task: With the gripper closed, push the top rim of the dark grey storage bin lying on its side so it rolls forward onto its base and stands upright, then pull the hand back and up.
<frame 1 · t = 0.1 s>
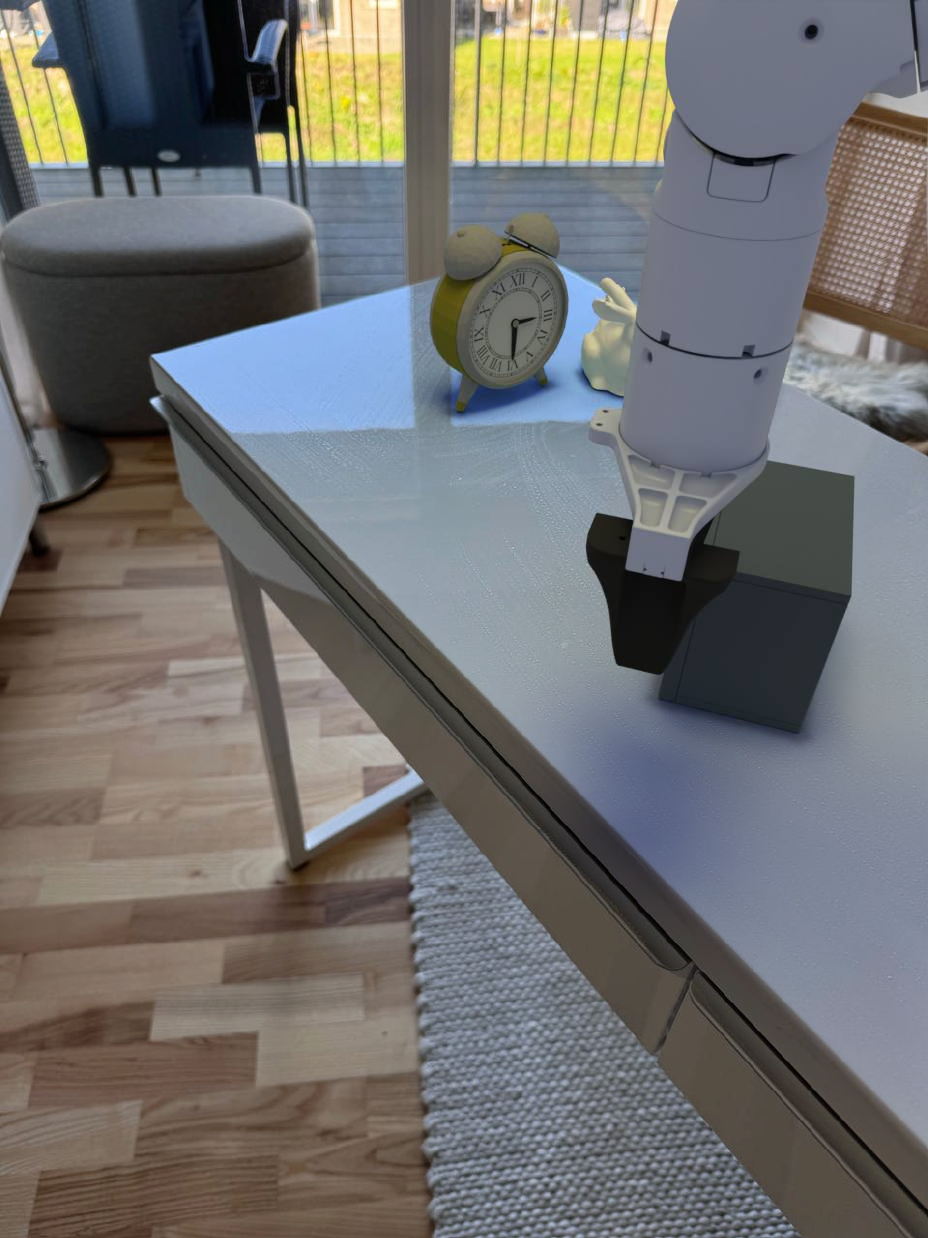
hand: (654, 611, 42), 11 cm above the table, tool pointing down, fingers open, 7 cm apart
alarm clock: (490, 392, 83), on the table
dark grey storage bin: (738, 649, 57), on the table
rabbit figurine: (610, 387, 84), on the table
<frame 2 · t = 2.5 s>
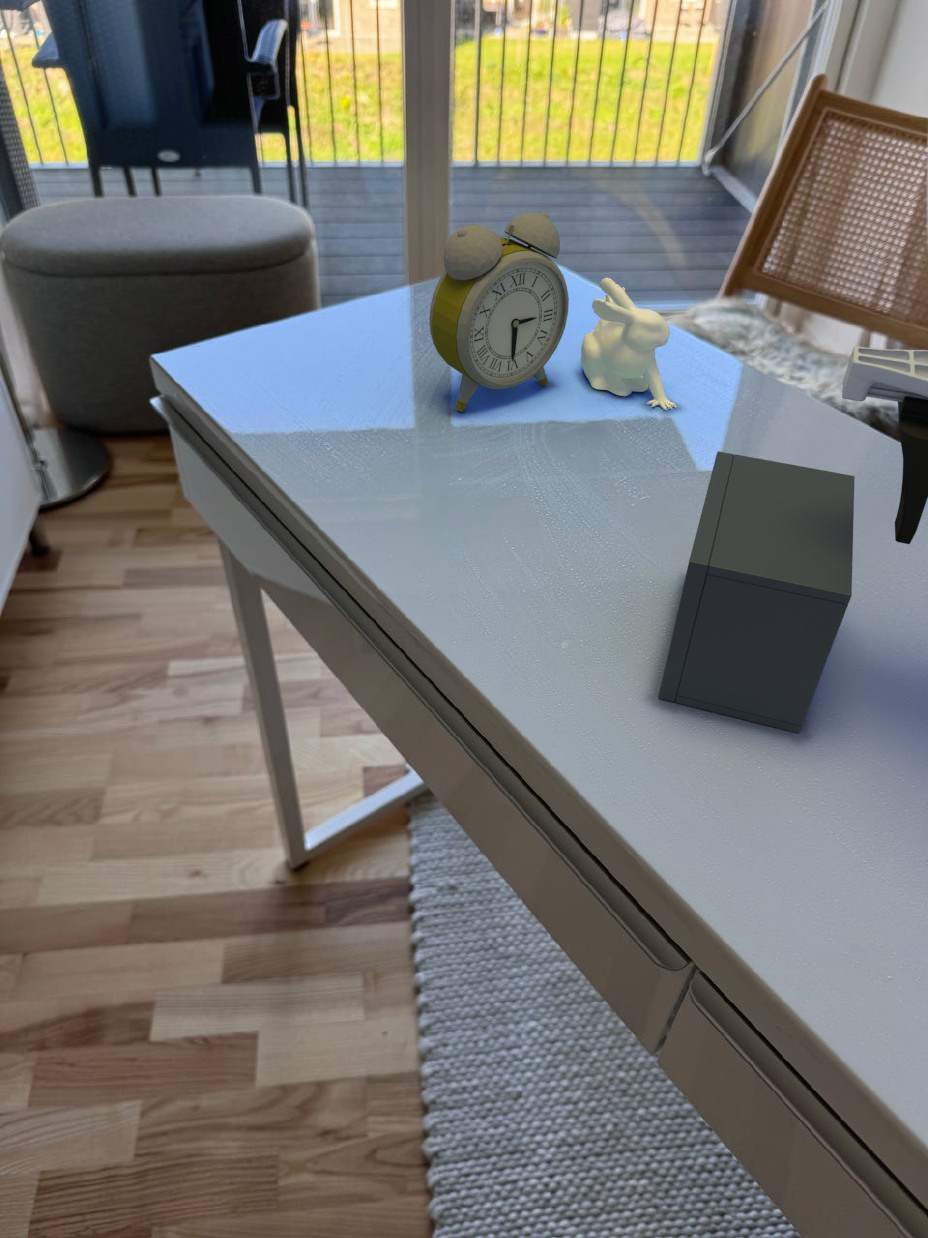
nothing on the table moved.
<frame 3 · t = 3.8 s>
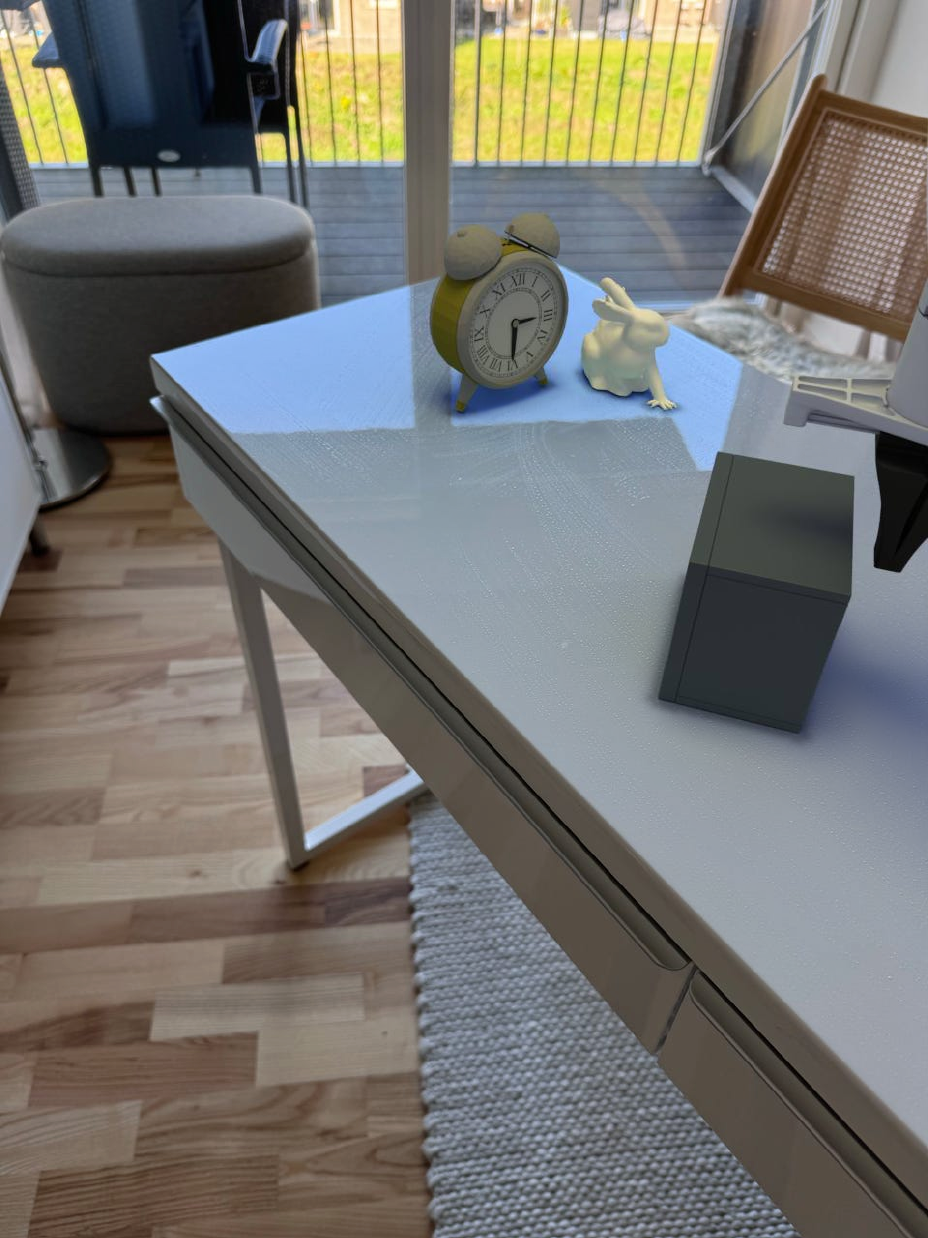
hand: (886, 560, 50), 9 cm above the table, tool pointing down, fingers closed
nothing on the table moved.
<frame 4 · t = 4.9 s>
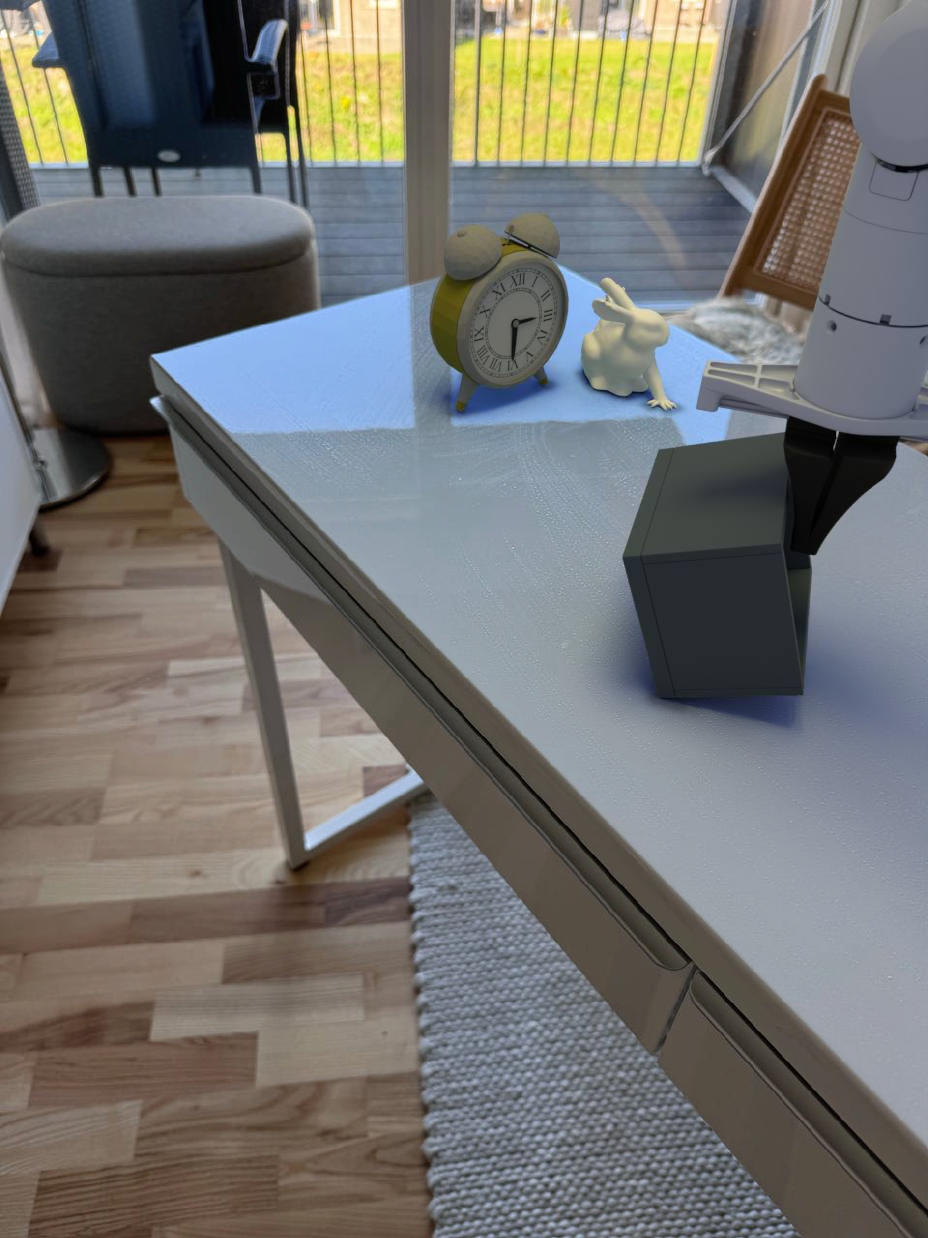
hand: (803, 543, 51), 9 cm above the table, tool pointing down, fingers closed
dark grey storage bin: (739, 631, 56), point 1 cm above the table, tilted 20°, touching gripper
everything else where it was.
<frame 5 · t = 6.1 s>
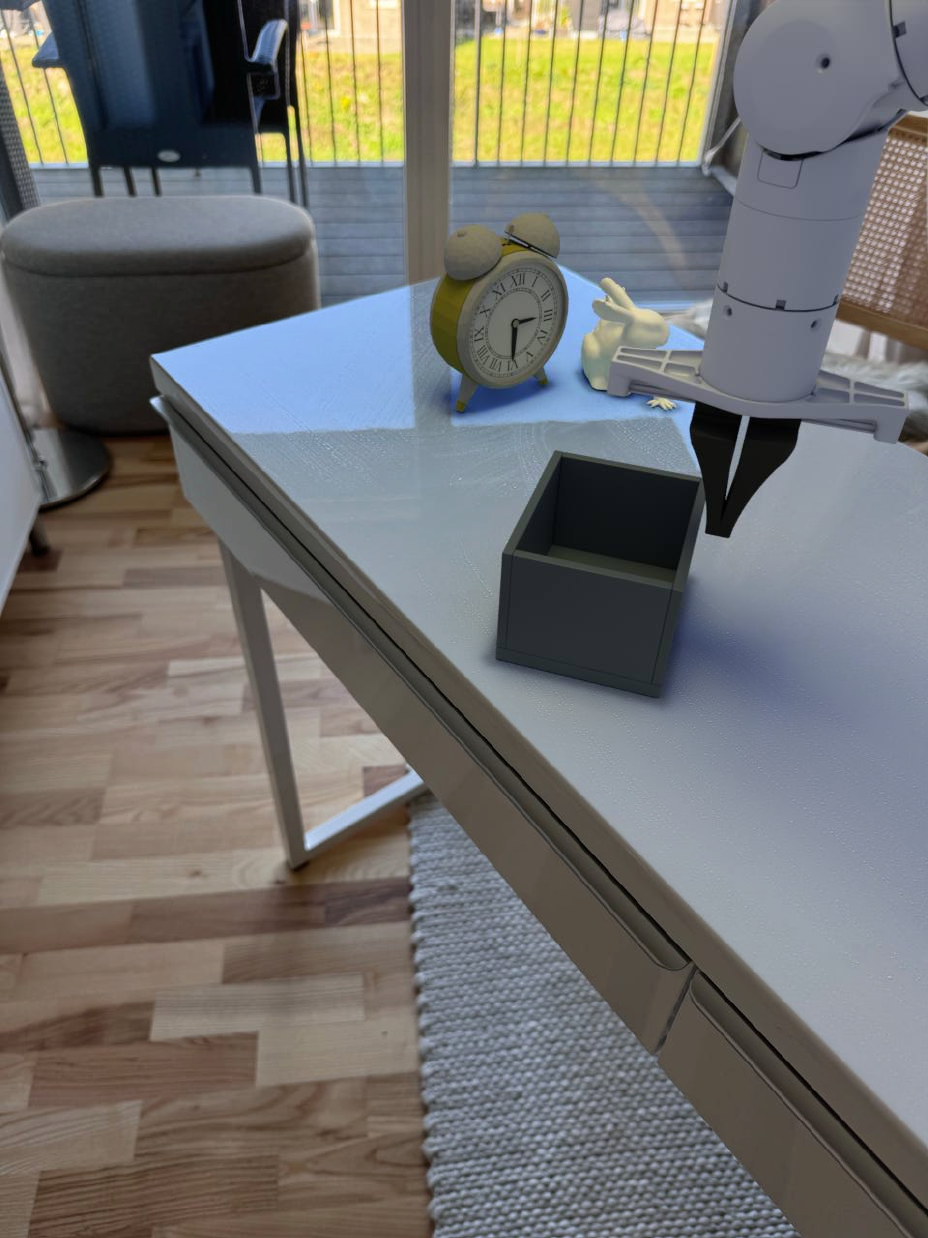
hand: (719, 526, 52), 9 cm above the table, tool pointing down, fingers closed
dark grey storage bin: (685, 585, 55), point 4 cm above the table, tilted 90°
everything else where it was.
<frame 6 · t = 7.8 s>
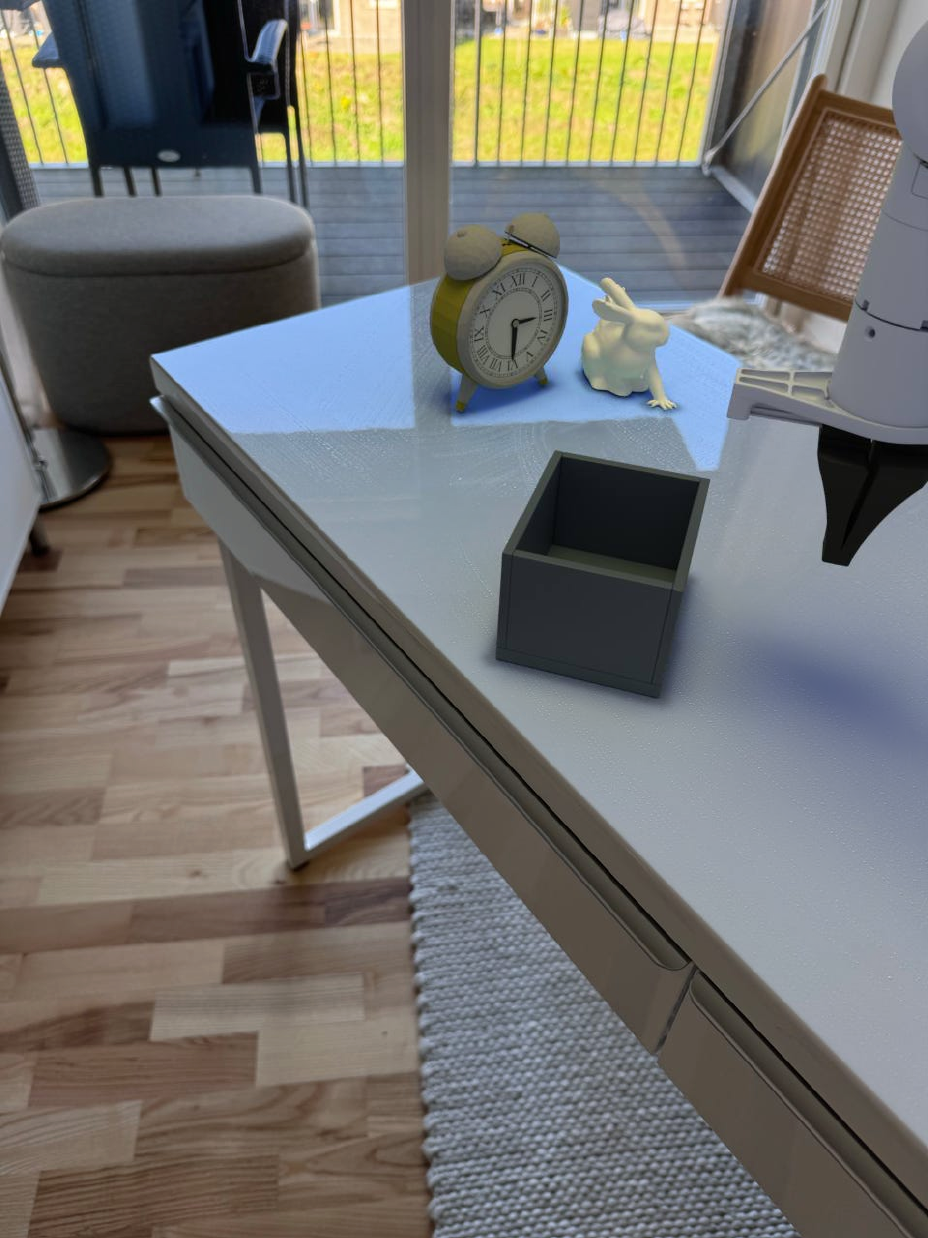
hand: (835, 554, 50), 9 cm above the table, tool pointing down, fingers closed
nothing on the table moved.
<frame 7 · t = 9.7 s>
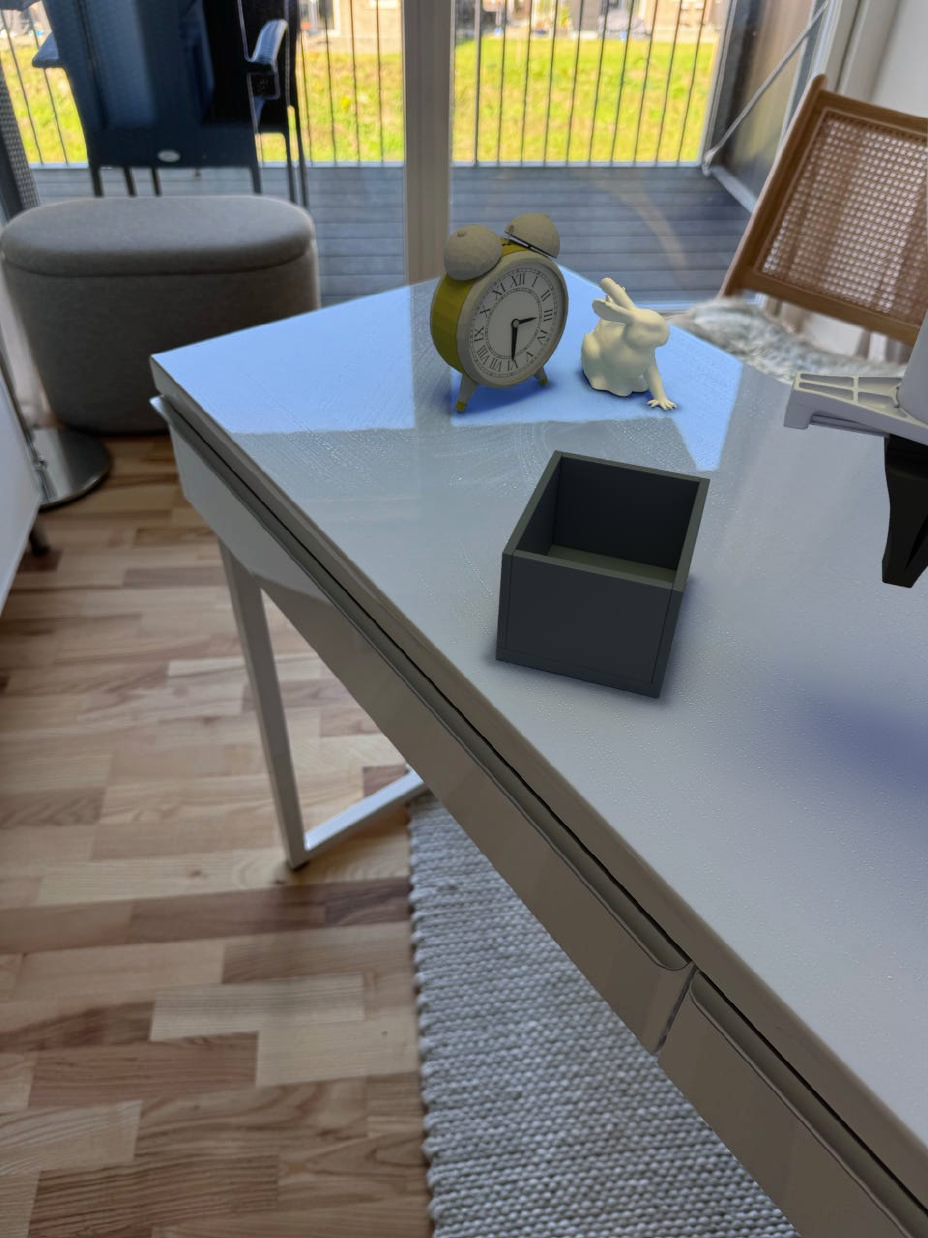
hand: (896, 574, 46), 10 cm above the table, tool pointing down, fingers closed
nothing on the table moved.
at the end: dark grey storage bin tilted 90°; dark grey storage bin point 4.0 cm above the table; alarm clock moved 0.2 cm from its start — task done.
